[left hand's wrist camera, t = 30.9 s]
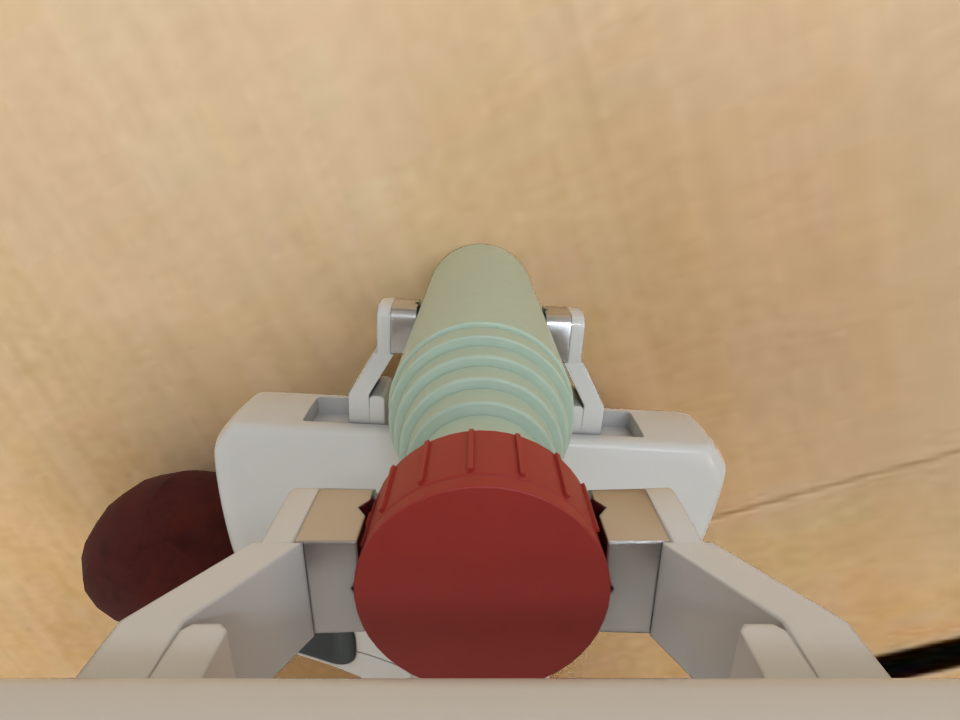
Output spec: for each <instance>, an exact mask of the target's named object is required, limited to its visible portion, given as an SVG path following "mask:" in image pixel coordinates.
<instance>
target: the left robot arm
mask: <svg viewBox="0 0 960 720" xmlns="http://www.w3.org/2000/svg"><path fill="white" fill-rule="evenodd" d="M587 492H588V495H589V498H590V501H591V504H592V507H593V511H594V514H595V517H596V520H597V523H598V526H599V530H600V531H599V532H598V535H599V538H600V541H601V545H602V548H603V551H604V555H605V558H606V561H607V564H608V568H609V574H610V579H611V595H610V601H609V607H608V610H607V613H606V617H605V620H604V622H603V624H602V626H601V628H600V630H599V631H600V632H627V633H650V636H651V637H652V638H653V639H654V640H655V641H656V642H657V643H658V644H659V645H660V646H661V647H662V648H663V649H664V650H665V651H666V652H667V653H668V654H669V655H670V656H671V657H672V658H673V659H674V660H675V661H676V662H677V663H678V664H679V665H680V666H681V667H682V668H683V669H684V670H685V671H686V672H687V673H688V674H689V675H690V676H691V677H692V678H274V677H275V676H276V675H277V674H278V673H279V671H280V670H281V669H282V668H283V667H284V666H285V665H286V664H287V663H288V662H289V661H290V660H291V659H292V658H293V657H294V656H295V655H296V654H297V653H298V652H299V651H300V650H301V649H302V648H303V647H304V646H305V645H306V644H307V643H308V642H309V641H310V640H311V639H312V638H313V637H314V633H337V632H365V630H364V628H363V626H362V624H361V621H360V619H359V616H358V613H357V610H356V605H355V600H354V586H353V584H354V576H355V569H356V566H357V563H358V559H359V556H360V553H361V543H362V540H363V537H364V533H365V530H366V519H367V516H368V513H369V512H371V511H372V507H373V504H374V501H375V499H377V496H378V494H377V492H376V489H346V488H322V489H321V488H294V489H292V490H291V491H290V492H289V494H288V495H287V497H286V499H285V501H284V502H283V504H282V506H281V508H280V509H279V511H278V513H277V515H276V517H275V518H274V520H273V522H272V524H271V525H270V527H269V529H268V531H267V532H266V534H265V536H264V538H263V539H262V541H261V542H252V543H251V544H249V545H247V546H246V547H244V548H242V549H241V550H239V551H237V552H236V553H234V554H232V555H231V556H229V557H227V558H225V559H224V560H222V561H220V562H219V563H217V564H215V565H214V566H212V567H210V568H209V569H207V570H205V571H204V572H202V573H200V574H198V575H197V576H195V577H193V578H192V579H190V580H188V581H187V582H185V583H183V584H182V585H180V586H178V587H177V588H175V589H173V590H171V591H170V592H168V593H166V594H165V595H163V596H161V597H160V598H158V599H156V600H155V601H153V602H151V603H150V604H148V605H146V606H145V607H143V608H141V609H139V610H138V611H136V612H134V613H133V614H131V615H129V616H128V617H126V618H124V619H123V620H121V621H119V623H118V624H117V625H116V626H115V628H114V629H113V630H112V632H111V633H110V634H109V635H108V637H107V638H106V639H105V641H104V642H103V643H102V644H101V646H100V647H99V648H98V650H97V651H96V652H95V654H94V655H93V656H92V657H91V659H90V660H89V661H88V663H87V664H86V665H85V666H84V668H83V669H82V670H81V672H80V673H79V674H78V675H77V677H76V678H0V720H960V678H891V677H890V676H889V675H888V673H887V672H886V671H885V669H884V668H883V667H882V666H881V664H880V663H879V662H878V660H877V659H876V658H875V657H874V655H873V654H872V653H871V651H870V650H869V649H868V648H867V646H866V645H865V644H864V643H863V641H862V640H861V639H860V637H859V636H858V635H857V634H856V632H855V631H854V630H853V628H852V627H851V626H850V625H849V623H848V622H846V621H845V620H843V619H841V618H840V617H838V616H836V615H834V614H833V613H831V612H829V611H828V610H826V609H824V608H823V607H821V606H819V605H818V604H816V603H814V602H812V601H811V600H809V599H807V598H806V597H804V596H802V595H801V594H799V593H797V592H795V591H794V590H792V589H790V588H789V587H787V586H785V585H784V584H782V583H780V582H779V581H777V580H775V579H773V578H772V577H770V576H768V575H767V574H765V573H763V572H762V571H760V570H758V569H757V568H755V567H753V566H751V565H750V564H748V563H746V562H745V561H743V560H741V559H740V558H738V557H736V556H734V555H733V554H731V553H729V552H728V551H726V550H724V549H723V548H721V547H719V546H718V545H716V544H714V543H712V542H703V540H702V538H701V536H700V535H699V533H698V531H697V530H696V528H695V526H694V524H693V523H692V521H691V519H690V518H689V516H688V514H687V513H686V511H685V509H684V507H683V506H682V504H681V502H680V501H679V499H678V497H677V496H676V494H675V492H674V490H672V489H671V488H669V487H668V488H642V489H609V490H588V491H587Z"/></svg>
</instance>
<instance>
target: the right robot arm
mask: <svg viewBox="0 0 960 720" xmlns="http://www.w3.org/2000/svg"><path fill="white" fill-rule="evenodd" d="M420 307H421V302H420V300H413V299H398V298H382V300H381V301H380V303H379V305H378V311H377V346H376V348H375V350H374V351H373V353H372V354H371V356H370V358H369V359H368V361H367V363H366V364H365V366H364V367H363V369H362V371H361V372H360V374H359V376H358V378H357V379H356V381H355V383H354V385H353V387H352V389H351V390H350V392H349V394H348V395H349V396H347V395H327V394H307V393H287V392H260V393H257V394H255V395H254V396H253V397H252V398H251V399H249V400H248V401H247V402H246V403H245V404H244V405H243V406H242V407H241V408H240V409H239V410H238V411H237V412H236V413H235V414H234V415H233V416H232V417H231V418H230V420H229V421H228V422H227V423H226V425H225V426H224V427H223V429H222V430H221V432H220V433H219V435H218V437H217V440H216V443H215V449H214V458H215V469H216V476H217V483H218V489H219V495H220V500H221V505H222V510H223V514H224V518H225V523H226V527H227V531H228V534H229V538H230V542H231V545H232V548H233V551H234V553H236V552H237V551H239V550H241V549H242V548H244V547H246V546H247V545H249V544H251V543H252V542H261V541H262V539H263V538H264V536H265V534H266V532H267V531H268V529H269V527H270V525H271V524H272V522H273V520H274V518H275V517H276V515H277V513H278V511H279V509H280V508H281V506H282V504H283V502H284V501H285V499H286V497H287V495H288V494H289V492H290V491H291V490H292V489H294V488H321V489H322V488H346V489H376V492H377V494H378V493H379V491H380V489H381V487H382V484H383V482H384V481H385V479H386V478H387V477H388V475H389V471H390V468H391V466H392V465H395V466H396V465H397V464H398V463H399V462H400V461H399V458H398V456H397V453H396V450H395V448H394V445H393V443H392V440H391V436H390V431H389V421H388V415H389V408H388V402H389V392H390V388H391V383H392V378H391V377H390V376H381V375H382V373H383V371H384V370H385V368H386V367H387V365H388V363H389V362H390V360H391V358H392V357H393V355H394V354H403V352H404V349H405V346H406V344H407V341H408V339H409V336H410V333H411V331H412V328H413V325H414V323H415V320H416V318H417V315H418V312H419V310H420ZM542 312H543V314H544V317H545V319H546V322H547V324H548V327H549V329H550V332H551V335H552V337H553V340H554V342H555V345H556V347H557V350H558V352H559V355H560V357H561V360H562V362H563V363H564V365H565V367H566V369H567V371H568V373H569V375H570V377H571V379H572V382H573V384H574V386H575V388H574V387H573V386H572V385H571V387H572V392H573V401H574V408H573V413H574V424H573V432H572V436H571V440H570V443H569V446H568V449H567V451H566V454H565V456H564V459H563V462H564V463H565V464H566V465H567V466H568V467H569V468H570V469H571V470H572V471H573V473H574V474H575V475H576V477H577V478H578V480H579V482H580V483H581V484H582V483H584V484H585V486H586V488H587V491H588V490H609V489H642V488H668V487H669V488H671V489H672V490H674V492H675V494H676V496H677V497H678V499H679V501H680V502H681V504H682V506H683V507H684V509H685V511H686V513H687V514H688V516H689V518H690V519H691V521H692V523H693V524H694V526H695V528H696V530H697V531H698V533H699V535H700V536H701V538H702V540H703V538H704V536H705V534H706V531H707V529H708V526H709V524H710V521H711V519H712V516H713V513H714V510H715V508H716V505H717V502H718V499H719V496H720V493H721V489H722V486H723V482H724V478H725V472H726V466H725V462H724V459H723V456H722V455H721V453H720V451H719V449H718V448H717V446H716V445H715V443H714V442H713V440H712V439H711V438H710V436H709V435H708V434H707V433H706V431H705V430H704V429H703V428H702V427H701V426H700V425H699V424H698V423H697V422H696V421H695V419H694V418H693V417H691V416H690V415H689V414H687V413H684V412H675V411H654V410H634V409H613V408H604V405H603V403H602V401H601V399H600V397H599V395H598V393H597V390H596V388H595V386H594V384H593V382H592V380H591V378H590V375H589V373H588V371H587V369H586V367H585V365H584V363H583V361H582V358H581V356H582V348H583V339H584V331H585V317H584V314H583V312H582V311H581V309H580V308H574V307H552V306H543V307H542ZM380 376H381V377H380ZM296 655H300V656H303V657H306V658H310V659H313V660H316V661H319V662H322V663H325V664H328V665H331V666H334V667H337V668H339V669H342V670H345V671H347V672H349V673H352V674H354V675H356V676H359V677H361V678H418V677H416V676H414V675H412V674H410V673H408V672H407V671H405V670H403V669H402V668H400V667H398V666H397V665H396V664H394V663H393V662H392V661H391V660H389V659H388V658H387V657H386V656H385V655H384V654H383V653H382V652H381V651H380V650H379V649H378V648H377V647H376V646H375V645H374V643H373V642H372V641H371V639H370V638H369V637H368V635H367V633H366V631H365V632H337V633H314V637H313V638H312V639H311V640H310V641H309V642H308V643H307V644H306V645H305V646H304V647H303V648H302V649H301V650H300V651H299V652H298V653H297V654H296ZM550 676H551V675H550ZM550 676H548V677H546V678H550Z"/></svg>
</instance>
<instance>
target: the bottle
mask: <svg viewBox="0 0 960 720" xmlns="http://www.w3.org/2000/svg"><path fill="white" fill-rule="evenodd" d="M388 408H389V415H388V421H389V431H390V436H391V440H392V443H393V445H394V448H395V450H396V453H397V456H398V458H399V461H401V460H403V459H404V458H405V457H406V456H407V455H408V454H410V453H411V452H413V451H414V450H416V449H417V448H419V447H421V446H422V445H424V442H425V441H427V440H429V441H432V440H435V439H437V438H440V437H443V436H446V435H449V434H454V433H459V432H464V431H469V429H474V430H485V431H498V432H505V433H510V434H516V433H519V434H520V435H521V437H524V438H526V439H529V440H531V441H533V442H536V443H538V444H540V445H541V446H543V447H545V448H546V449H548V450H550V451H551V452H553V453H554V454H555V453H556V452H557V453H558V454H560V457H561V460H562V461H563V459H564V456H565V454H566V451H567V449H568V446H569V443H570V440H571V436H572V432H573V424H574V413H573V408H574V401H573V392H572V387H571V383H570V380H569V378H568V375H567V373H566V370H565V368H564V365H563V362H562V360H561V357H560V355H559V352H558V350H557V347H556V345H555V342H554V340H553V337H552V335H551V332H550V329H549V327H548V324H547V322H546V319H545V317H544V314H543V312H542V309H541V307H540V304H539V302H538V299H537V297H536V294H535V291H534V289H533V286H532V284H531V281H530V279H529V276H528V274H527V272H526V270H525V268H524V267H523V265H522V264H521V263H520V262H519V261H518V259H517V258H516V257H514V256H513V255H512V254H510V253H509V252H507V251H506V250H504V249H501V248H499V247H496V246H493V245H487V244H474V245H468V246H465V247H462V248H459V249H457V250H455V251H453V252H452V253H450V254H449V255H448V256H446V257H445V258H444V259H443V260H442V261H441V262H440V264H439V265H438V266H437V268H436V270H435V271H434V273H433V276H432V278H431V281H430V283H429V286H428V289H427V291H426V294H425V296H424V299H423V302H422V304H421V307H420V310H419V312H418V315H417V318H416V320H415V323H414V325H413V328H412V331H411V333H410V336H409V339H408V341H407V344H406V346H405V349H404V352H403V354H402V357H401V360H400V362H399V365H398V367H397V370H396V373H395V375H394V378H393V381H392V383H391V388H390V392H389V402H388Z"/></svg>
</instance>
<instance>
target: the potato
mask: <svg viewBox="0 0 960 720" xmlns="http://www.w3.org/2000/svg"><path fill="white" fill-rule="evenodd" d="M232 554H234V551H233V548H232V545H231V542H230V538H229V534H228V531H227V527H226V523H225V518H224V514H223V510H222V505H221V500H220V495H219V489H218V483H217V476H216V473H214V472H207V471H199V470H193V471H181V472H176V473H170V474H165V475H160V476H156V477H153V478H150V479H147V480H144V481H142V482H141V483H139V484H138V485H136V486H135V487H133V488H132V489H130V490H129V491H127V492H126V493H124V494H123V495H121V496H120V497H119V498H118V499H116V500H115V501H114V502H113V503H112V504H110V505H109V506H108V507H107V509H106V510H105V512H104V513H103V515H102V516H101V517H100V519H99V520H98V522H97V523H96V525H95V526H94V528H93V530H92V532H91V533H90V535H89V537H88V539H87V540H86V542H85V546H84V550H83V554H82V571H83V582H84V588H85V592H86V593H87V594H88V596H89V597H90V598H91V600H92V601H93V603H94V604H95V605H96V607H97V608H99V609H100V610H101V611H103V612H104V613H106V614H107V615H109V616H110V617H111V618H113V619H114V620H116V621H121V620H123V619H124V618H126V617H128V616H129V615H131V614H133V613H134V612H136V611H138V610H139V609H141V608H143V607H145V606H146V605H148V604H150V603H151V602H153V601H155V600H156V599H158V598H160V597H161V596H163V595H165V594H166V593H168V592H170V591H171V590H173V589H175V588H177V587H178V586H180V585H182V584H183V583H185V582H187V581H188V580H190V579H192V578H193V577H195V576H197V575H198V574H200V573H202V572H204V571H205V570H207V569H209V568H210V567H212V566H214V565H215V564H217V563H219V562H220V561H222V560H224V559H225V558H227V557H229V556H231V555H232Z"/></svg>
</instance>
